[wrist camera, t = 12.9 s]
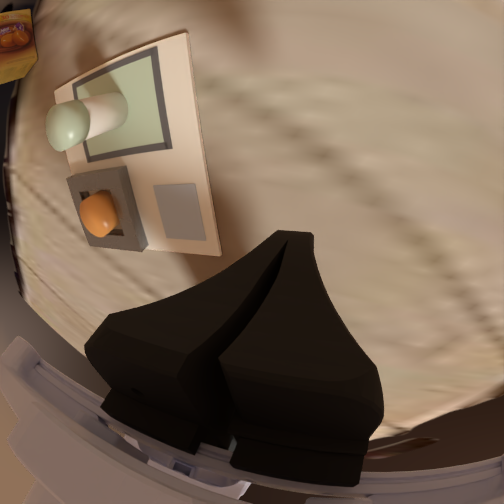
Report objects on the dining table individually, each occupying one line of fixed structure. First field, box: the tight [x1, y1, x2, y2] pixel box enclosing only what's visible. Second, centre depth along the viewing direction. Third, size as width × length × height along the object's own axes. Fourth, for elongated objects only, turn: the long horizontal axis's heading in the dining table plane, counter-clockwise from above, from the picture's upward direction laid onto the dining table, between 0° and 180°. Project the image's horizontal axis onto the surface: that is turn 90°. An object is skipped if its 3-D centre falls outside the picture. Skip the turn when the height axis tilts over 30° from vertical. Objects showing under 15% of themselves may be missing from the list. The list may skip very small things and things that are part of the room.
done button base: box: [67, 165, 149, 252], centre depth 24 cm, size 8×8×1 cm
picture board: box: [54, 33, 222, 256], centre depth 21 cm, size 18×16×1 cm
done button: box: [80, 190, 120, 237], centre depth 24 cm, size 4×4×2 cm
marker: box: [45, 92, 129, 151], centre depth 16 cm, size 3×3×6 cm
